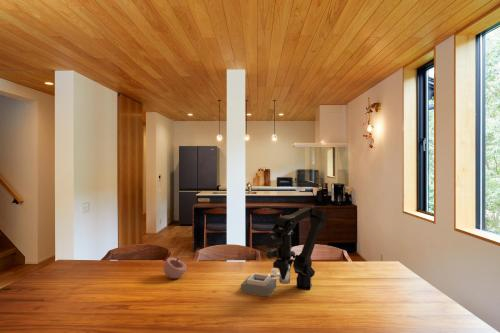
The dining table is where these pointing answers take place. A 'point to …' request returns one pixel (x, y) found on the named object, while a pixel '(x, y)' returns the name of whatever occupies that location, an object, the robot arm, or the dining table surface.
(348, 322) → the dining table surface
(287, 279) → the metal can
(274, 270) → the teacup and saucer
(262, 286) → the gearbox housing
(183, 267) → the mortar and pestle
